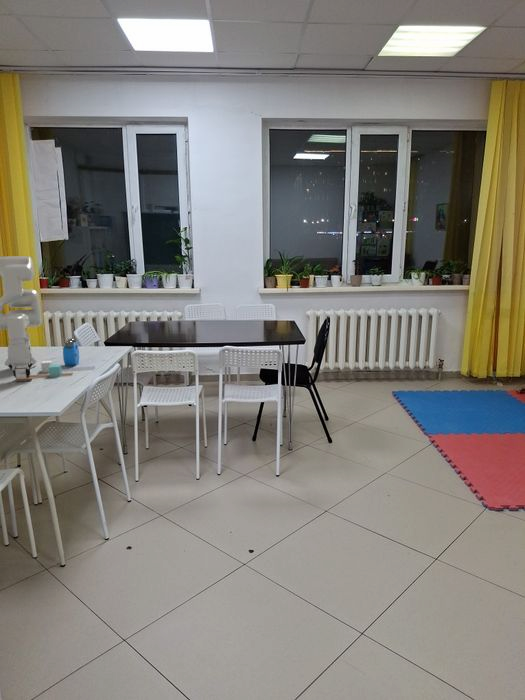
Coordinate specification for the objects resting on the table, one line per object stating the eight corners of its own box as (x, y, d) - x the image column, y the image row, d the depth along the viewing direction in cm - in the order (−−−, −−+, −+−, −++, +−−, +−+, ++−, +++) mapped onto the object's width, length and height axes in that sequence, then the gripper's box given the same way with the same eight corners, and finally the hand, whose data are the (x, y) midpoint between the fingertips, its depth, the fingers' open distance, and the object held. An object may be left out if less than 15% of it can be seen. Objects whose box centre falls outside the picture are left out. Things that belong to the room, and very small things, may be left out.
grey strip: (44, 371, 247) (42, 360, 246) (95, 368, 253) (94, 357, 252) (41, 374, 240) (40, 363, 239) (94, 371, 247) (93, 360, 245)
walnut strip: (18, 377, 235) (17, 366, 234) (73, 374, 241) (72, 363, 240) (15, 381, 228) (13, 370, 227) (71, 377, 235) (70, 366, 233)
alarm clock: (69, 363, 264) (66, 337, 261) (80, 362, 265) (78, 336, 262) (64, 369, 252) (61, 342, 248) (76, 368, 253) (73, 341, 250)
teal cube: (51, 374, 238) (50, 364, 236) (61, 373, 239) (60, 364, 238) (49, 377, 233) (48, 367, 232) (60, 376, 234) (59, 366, 233)
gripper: (38, 338, 233) (42, 373, 238) (1, 340, 229) (5, 376, 234) (34, 341, 226) (39, 377, 231) (-4, 343, 222) (1, 380, 226)
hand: (22, 376), depth 232 cm, fingers closed on walnut strip, 4 cm apart
